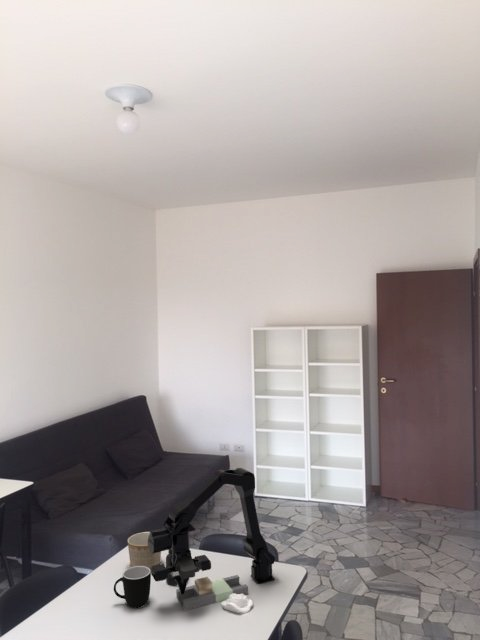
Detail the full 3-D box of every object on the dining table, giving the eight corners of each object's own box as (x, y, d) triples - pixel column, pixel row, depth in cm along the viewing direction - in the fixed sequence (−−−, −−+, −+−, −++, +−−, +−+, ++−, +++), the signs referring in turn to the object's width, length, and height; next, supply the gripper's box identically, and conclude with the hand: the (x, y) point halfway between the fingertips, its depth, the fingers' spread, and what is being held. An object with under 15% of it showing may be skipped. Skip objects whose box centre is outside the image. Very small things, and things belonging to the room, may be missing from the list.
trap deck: (237, 582, 184) (237, 574, 184) (248, 594, 176) (247, 586, 176) (176, 597, 176) (176, 589, 176) (184, 610, 167) (184, 602, 167)
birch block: (207, 585, 178) (207, 576, 178) (212, 591, 174) (212, 582, 173) (195, 588, 176) (194, 579, 176) (199, 594, 172) (199, 585, 172)
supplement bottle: (182, 586, 182) (181, 551, 182) (163, 585, 184) (162, 550, 184) (188, 577, 189) (187, 543, 189) (170, 575, 190) (169, 542, 190)
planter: (159, 574, 192) (158, 545, 192) (124, 574, 192) (124, 546, 192) (165, 558, 204) (164, 531, 204) (132, 559, 205) (131, 532, 205)
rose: (223, 603, 163) (219, 587, 173) (223, 617, 163) (219, 601, 173) (255, 599, 165) (249, 584, 174) (255, 613, 165) (249, 597, 174)
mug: (152, 595, 177) (151, 565, 177) (150, 610, 168) (149, 578, 168) (116, 597, 176) (115, 567, 176) (111, 612, 167) (110, 580, 167)
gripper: (159, 562, 161) (160, 613, 161) (216, 549, 168) (218, 598, 168) (150, 547, 171) (151, 596, 171) (204, 536, 178) (206, 583, 178)
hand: (182, 593), depth 172 cm, fingers closed
